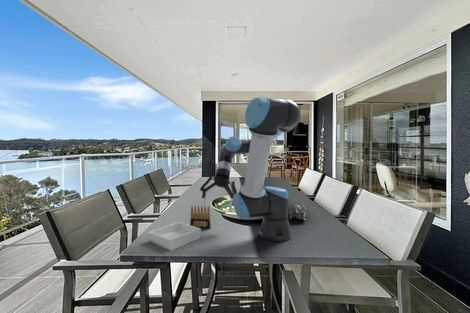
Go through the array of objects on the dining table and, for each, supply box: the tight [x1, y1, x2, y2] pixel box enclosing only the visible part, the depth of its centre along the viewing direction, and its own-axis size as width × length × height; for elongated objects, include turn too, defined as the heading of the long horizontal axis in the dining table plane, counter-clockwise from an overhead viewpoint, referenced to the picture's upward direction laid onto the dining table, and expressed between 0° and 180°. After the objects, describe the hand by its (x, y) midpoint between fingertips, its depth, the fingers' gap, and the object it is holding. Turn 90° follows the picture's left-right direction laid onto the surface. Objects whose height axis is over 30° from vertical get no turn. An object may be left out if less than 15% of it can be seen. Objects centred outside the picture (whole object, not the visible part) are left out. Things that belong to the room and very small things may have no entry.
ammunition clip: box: [189, 205, 212, 230], centre depth 132 cm, size 11×2×12 cm, turn 82°
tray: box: [148, 221, 202, 252], centre depth 117 cm, size 16×18×4 cm
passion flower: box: [288, 202, 308, 221], centre depth 145 cm, size 11×11×12 cm
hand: (216, 207), depth 125 cm, fingers open, 13 cm apart
